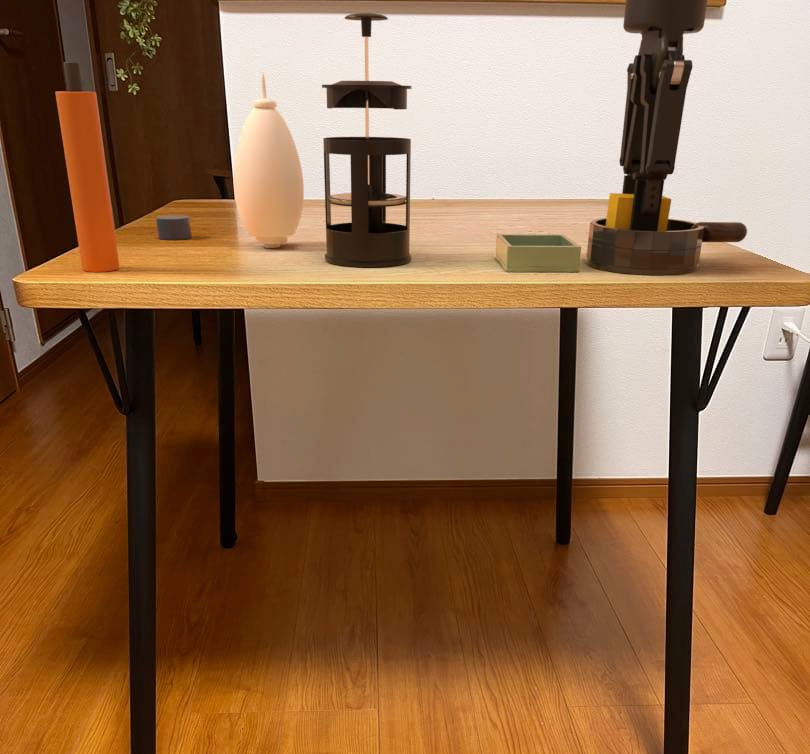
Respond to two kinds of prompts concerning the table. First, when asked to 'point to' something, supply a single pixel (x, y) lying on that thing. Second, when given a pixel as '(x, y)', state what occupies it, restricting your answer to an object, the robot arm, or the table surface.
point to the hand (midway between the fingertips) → (635, 243)
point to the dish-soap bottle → (87, 173)
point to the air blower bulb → (268, 175)
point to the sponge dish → (537, 253)
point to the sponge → (622, 211)
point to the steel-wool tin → (173, 227)
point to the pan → (645, 248)
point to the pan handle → (722, 231)
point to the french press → (367, 174)
